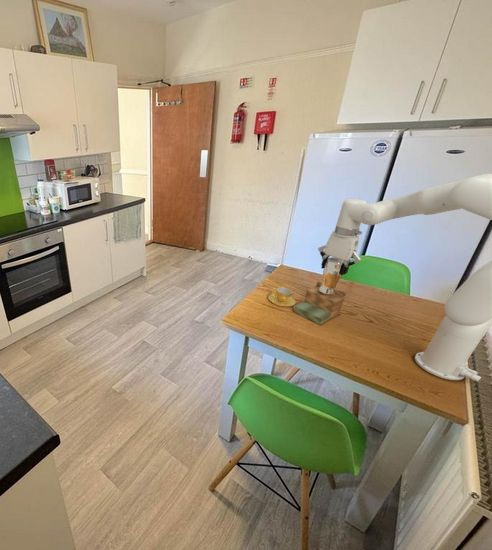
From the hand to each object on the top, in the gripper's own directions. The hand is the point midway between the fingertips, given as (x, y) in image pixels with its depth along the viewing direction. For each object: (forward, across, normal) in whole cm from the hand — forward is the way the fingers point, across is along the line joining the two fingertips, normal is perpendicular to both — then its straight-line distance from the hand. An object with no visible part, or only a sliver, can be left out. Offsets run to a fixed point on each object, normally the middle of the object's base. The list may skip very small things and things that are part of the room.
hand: (333, 270), depth 125 cm
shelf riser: (+20, 0, +3) cm, 20 cm away
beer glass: (+10, 0, 0) cm, 10 cm away
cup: (+20, +15, +7) cm, 26 cm away
